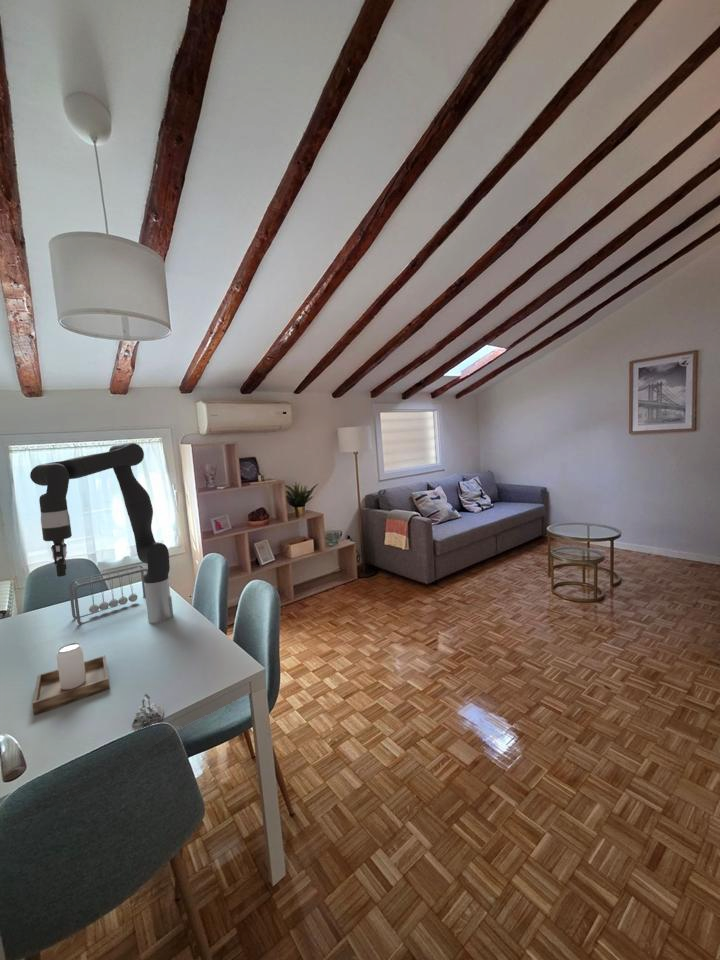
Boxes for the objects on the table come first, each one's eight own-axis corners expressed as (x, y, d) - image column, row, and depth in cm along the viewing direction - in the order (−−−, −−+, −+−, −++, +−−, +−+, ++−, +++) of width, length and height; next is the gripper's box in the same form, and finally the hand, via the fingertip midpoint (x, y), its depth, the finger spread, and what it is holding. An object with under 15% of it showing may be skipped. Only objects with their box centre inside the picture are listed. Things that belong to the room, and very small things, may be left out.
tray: (106, 665, 136) (105, 655, 136) (109, 689, 121) (108, 678, 121) (39, 685, 126) (37, 675, 126) (33, 715, 111) (32, 703, 111)
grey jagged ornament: (119, 744, 98) (115, 714, 98) (127, 721, 107) (124, 694, 106) (159, 734, 101) (156, 705, 100) (164, 712, 109) (162, 686, 109)
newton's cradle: (145, 599, 198) (142, 564, 196) (153, 604, 190) (149, 567, 189) (72, 620, 176) (67, 581, 175) (78, 627, 169) (73, 586, 168)
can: (72, 691, 120) (67, 653, 119) (55, 689, 121) (50, 652, 120) (91, 679, 126) (87, 642, 125) (74, 677, 127) (70, 641, 126)
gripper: (69, 525, 127) (76, 575, 129) (70, 520, 139) (76, 566, 140) (39, 529, 123) (46, 581, 124) (43, 523, 135) (49, 570, 136)
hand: (62, 573), depth 132 cm, fingers open, 8 cm apart
